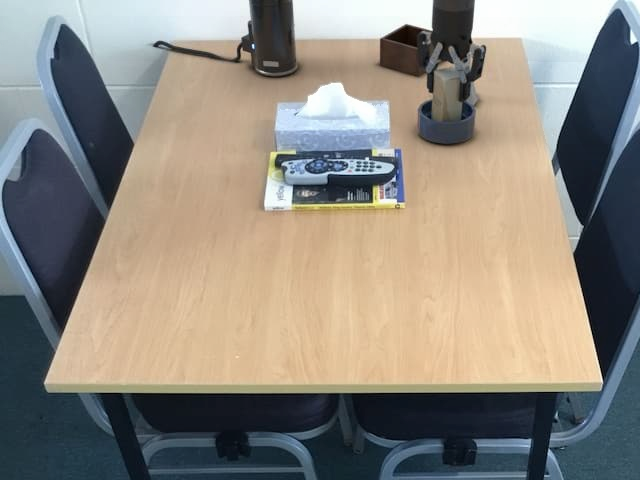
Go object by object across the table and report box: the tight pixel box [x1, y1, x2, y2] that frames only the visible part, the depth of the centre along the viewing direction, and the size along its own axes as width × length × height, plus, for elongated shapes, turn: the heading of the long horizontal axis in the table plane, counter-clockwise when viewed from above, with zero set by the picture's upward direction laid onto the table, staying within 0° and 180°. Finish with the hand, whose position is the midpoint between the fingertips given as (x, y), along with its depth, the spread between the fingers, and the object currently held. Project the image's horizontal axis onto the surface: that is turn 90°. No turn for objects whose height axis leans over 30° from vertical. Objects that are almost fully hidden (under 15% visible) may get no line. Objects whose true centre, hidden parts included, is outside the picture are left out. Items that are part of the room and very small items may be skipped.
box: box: [431, 66, 462, 122], centre depth 167 cm, size 5×4×11 cm
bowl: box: [416, 98, 477, 145], centre depth 170 cm, size 11×11×4 cm
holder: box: [379, 23, 443, 77], centre depth 191 cm, size 10×10×6 cm
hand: (447, 95), depth 166 cm, fingers closed on box, 6 cm apart
